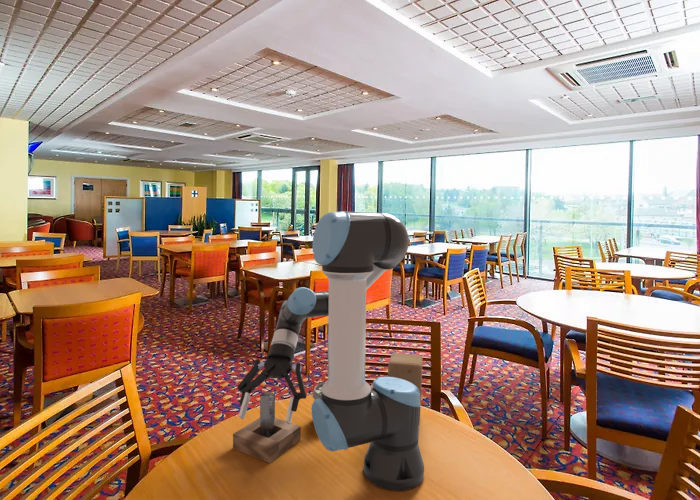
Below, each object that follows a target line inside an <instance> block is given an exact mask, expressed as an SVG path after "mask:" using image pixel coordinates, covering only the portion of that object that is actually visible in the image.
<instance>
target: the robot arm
mask: <svg viewBox="0 0 700 500" xmlns="http://www.w3.org/2000/svg"><path fill="white" fill-rule="evenodd" d="M409 241H410V240H409V234H408V230H407V229H406V226H405V225H404V223H403V222H402V221H401V220H400V219H399V218H398V217H396V216H394V215H393V214H390V213H385V212H369V211H368V212H367V211H366V212H363V211H345V210H342V211H331V212H327V213H325V214H324V215H322V216H321V217H320V218H319V220H318V222H317V224H316V226H315V229H314V231H313V238H312V253H313V258H314V259H313V260H315V262H316V263H317V264H318V265H321V273H323V275H325V276H326V277H327V278H328V290H324V291H313V290H312V289H311V288H307V287H304V286H303V287H302V286H301V287H300V286H299V287H297V288H296V289H294V290H293V292H292V293H291V294H290V295H289V296H288V299H287V300H284V301H283V303H282V304H281V305H282V306H281V307H280V309H279V314H278V318H277V322H276V327H275V330H274V333H273V336H272V340H271V342H270V343H271V344H270V347H269V350H268V354H267V357H266V360H265V361H261V360H260V359H256V360H255V361H254V363H253V366H252V368H251V369H250V370H249V371H248V373H247V374H246V375H245V376H244V378H243V379H242V380H241V381H240V383H239V384H238V385H237V387H236V389H237V391H239V392H240V393H241V395H240V399H239V405H240V406H241V407H240V410H239V413H238V417H239V418H240V419H241V420H245V417H246V415H247V411H248V408H249V404H250V401H251V397H252V396H251V393H252V392H253V391H254V390H255V389H256V388H258V387H259V386H260V385H261V384H262V383H263V382H265V381H266V380H268V379H277V380H282V379H283V378H284V379H285V382H286V383H287V386H288V387H289V390H290V391H291V393H292V395H293V396H290V398H289V402H288V407H287V411H286V415H285V420H284V421H286V423H287V424H289V425H290V423H292V418H293V414H294V412H297V410H298V408H299V407H298V405H299V402H300V400H302V399H303V400H305V399H306V398H307V393H306V392H307V391H306V388H305V384H304V380H303V376H302V371H303V367H302V365H301V363H299V362H297V363H296V364H293V361H294V357H295V353H296V352H295V350H297V349H296V348H297V344H298V340H299V336H300V331H301V326H302V325H303V323H304V322H305V321H306V319H307V318H317V317H326V316H327V317H328V323H327V324H328V325H327V326H328V327H327V329H328V332H327V333H328V336H327V337H328V338H327V339H328V340H327V341H328V343H327V353H328V354H327V381H325V382H326V383H325V384H324V385H323V386H322V388H321V399H320V398H318V399H316V400H315V399H314V400H313V402H312V404H311V417H312V418H311V419H312V422H313V427H314V429H315V432H316V435H317V437H318V440H319V441H320V443H321V445H322V447H324V448H325V449H326V450H327V451H330V452H336V451H342V450H344V451H347V450H348V449H350V448H353V447H354V448H355V447H358V446H362V445H365V444H369V445H368V447H367V450H366V453H365V456H364V457H363V468H362V469H363V474H364V476H365V478H366V479H367V480H368V481H369V483H371V484H372V485H374V486H376V487H378V488H381V489H384V490H387V491H395V492H396V491H397V492H401V491H403V492H404V491H409V490H412V489H414V488H417V487H418V486H419V485H420V484H421V483H422V482H423V480H424V478H425V463H424V460H423V457H422V453H421V449H420V445H419V433H420V432H419V431H420V423H419V413H420V414H421V409H420V406H422V405H421V404H422V403H421V404H420V392H419V390H418V388H417V387H416V386H415V385H414V384H412V383H411V382H409V381H406V380H403V379H400V378H395V377H388V376H379V377H376V378H375V379H374V380H373V382H372V384H371V385H370V384H369V383H368V382H367V381H366V336H367V335H366V334H367V332H366V328H367V327H366V326H367V324H366V323H367V322H366V321H367V290H368V289H369V288H370V287H371V286H372V285H373V284H374V283H376V281H377V280H378V279H380V277H381V276H382V275H383V274H384V273H385V272H386V271H388V270H389V271H390V270H393V269H395V268H396V267H397V265H399V264H400V263H401V262H402V260H403V259H404V258H405V256H406V254H407V252H408V249H409V243H410V242H409ZM263 367H264V369H263ZM262 369H263V370H262ZM260 370H262V371H261V372H260ZM292 370H293V372H294V373H295V376H296V380H297V384H298V387H299V388H298V389H299V392H298V391H297V389H296V388H295V385H294V384H293V382H292V380H291V377H290V376H289V373H290V372H291V371H292ZM259 372H260V373H259ZM258 373H259V374H258Z"/></svg>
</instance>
